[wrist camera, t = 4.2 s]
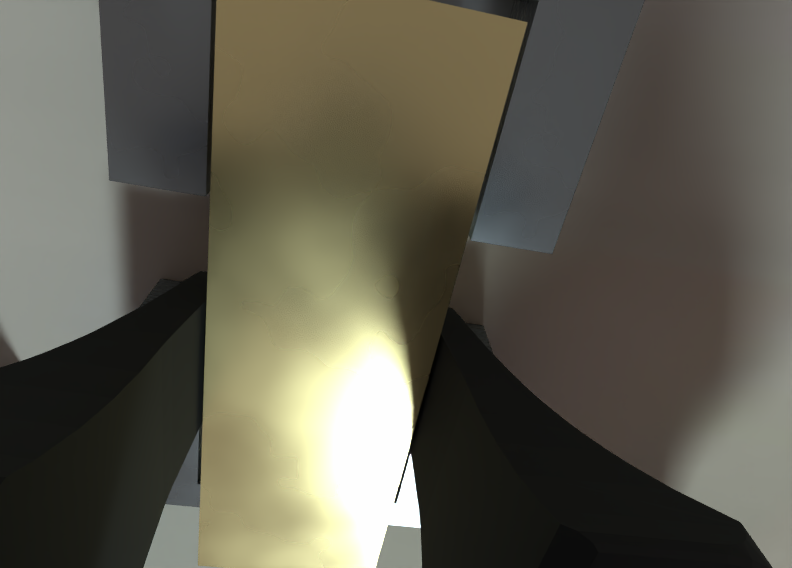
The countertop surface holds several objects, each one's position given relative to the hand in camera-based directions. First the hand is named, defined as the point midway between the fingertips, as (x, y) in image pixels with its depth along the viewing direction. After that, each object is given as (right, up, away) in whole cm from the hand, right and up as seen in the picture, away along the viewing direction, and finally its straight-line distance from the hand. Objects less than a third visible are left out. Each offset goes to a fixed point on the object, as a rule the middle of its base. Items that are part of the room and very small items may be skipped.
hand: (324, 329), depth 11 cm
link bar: (0, +2, +3) cm, 4 cm away
